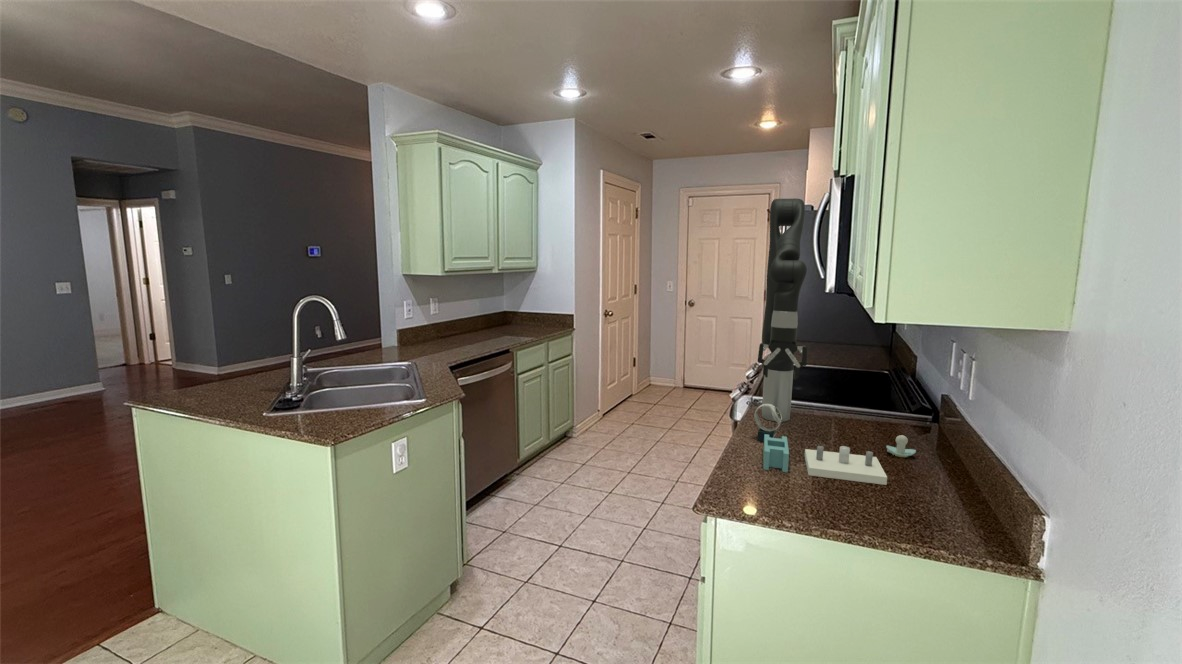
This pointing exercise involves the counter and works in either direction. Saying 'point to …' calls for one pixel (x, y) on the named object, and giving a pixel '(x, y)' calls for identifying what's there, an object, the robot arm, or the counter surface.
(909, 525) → the counter surface
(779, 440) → the flange bar
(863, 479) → the base plate
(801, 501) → the counter surface
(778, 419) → the watch
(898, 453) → the pacifier
